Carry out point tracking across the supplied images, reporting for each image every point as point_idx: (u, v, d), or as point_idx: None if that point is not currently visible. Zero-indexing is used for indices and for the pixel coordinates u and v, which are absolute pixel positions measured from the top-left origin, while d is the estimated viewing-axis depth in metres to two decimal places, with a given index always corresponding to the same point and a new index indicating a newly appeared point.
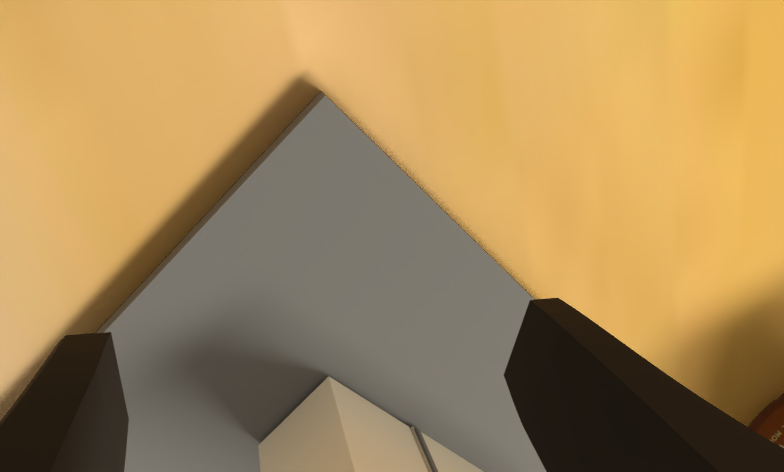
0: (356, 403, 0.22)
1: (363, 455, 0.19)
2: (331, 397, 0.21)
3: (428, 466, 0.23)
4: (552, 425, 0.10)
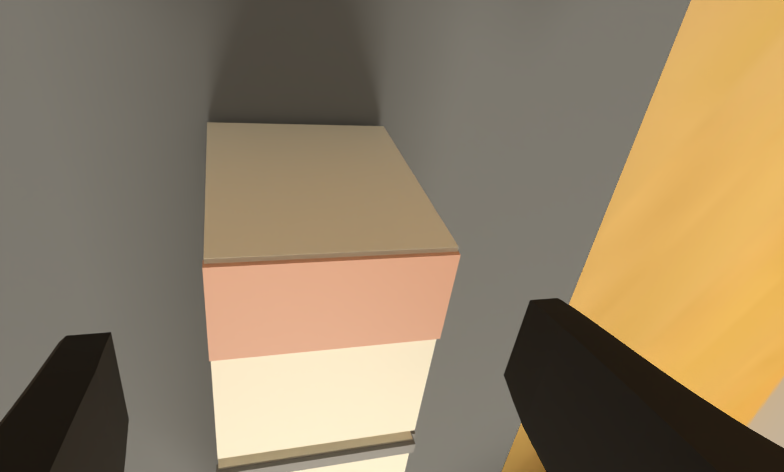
0: None
1: None
2: (389, 144, 0.13)
3: None
4: (552, 425, 0.10)
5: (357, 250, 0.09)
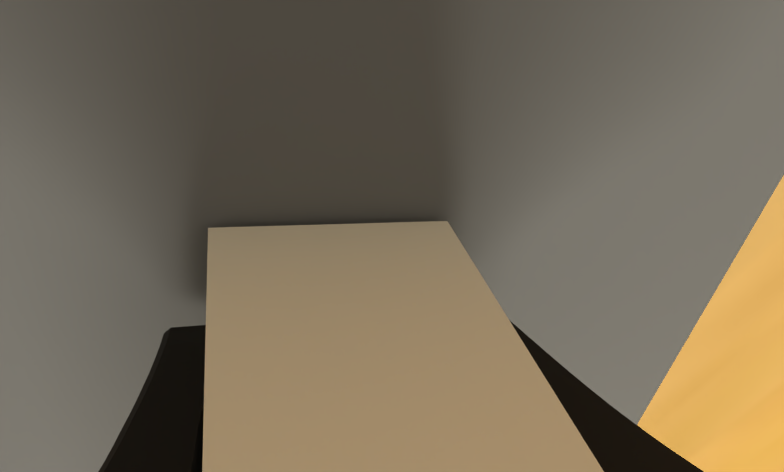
0: None
1: None
2: (461, 256, 0.09)
3: None
4: None
5: None
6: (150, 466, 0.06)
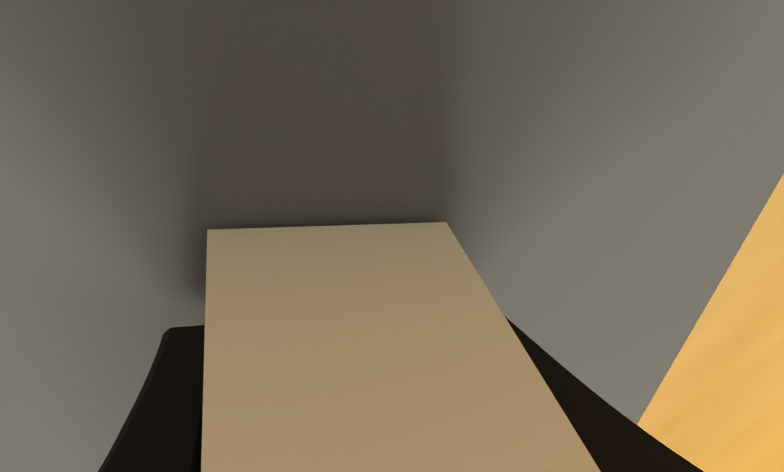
0: None
1: None
2: (460, 257, 0.09)
3: None
4: None
5: None
6: (150, 466, 0.06)
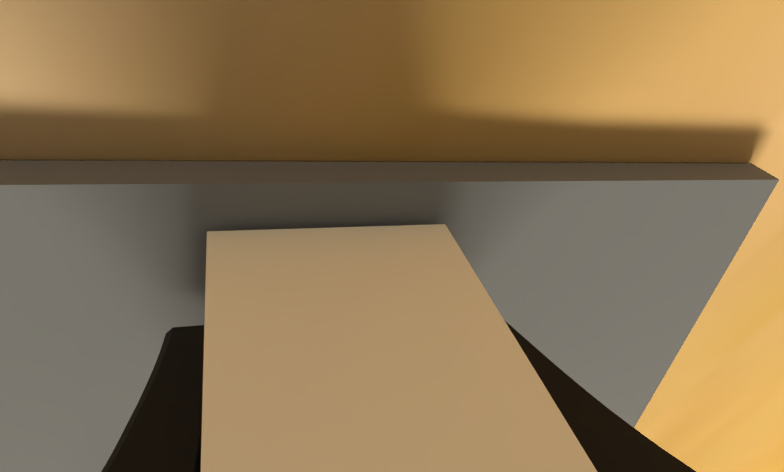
0: None
1: None
2: (459, 260, 0.09)
3: None
4: None
5: None
6: (153, 466, 0.06)
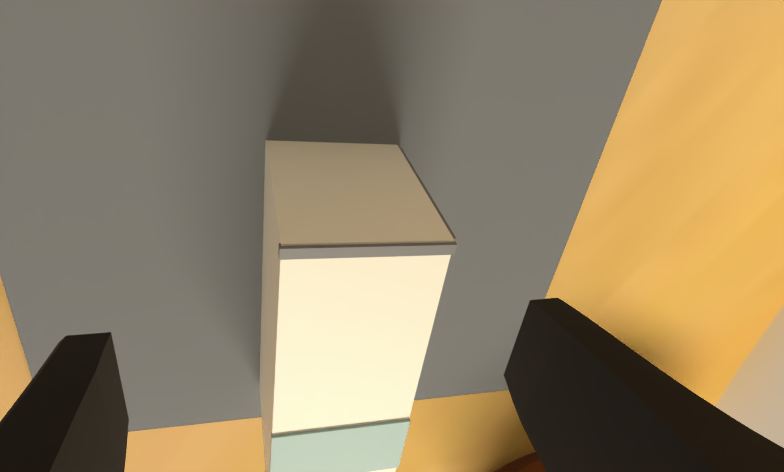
0: None
1: None
2: None
3: (416, 178, 0.16)
4: (552, 425, 0.10)
5: None
6: None
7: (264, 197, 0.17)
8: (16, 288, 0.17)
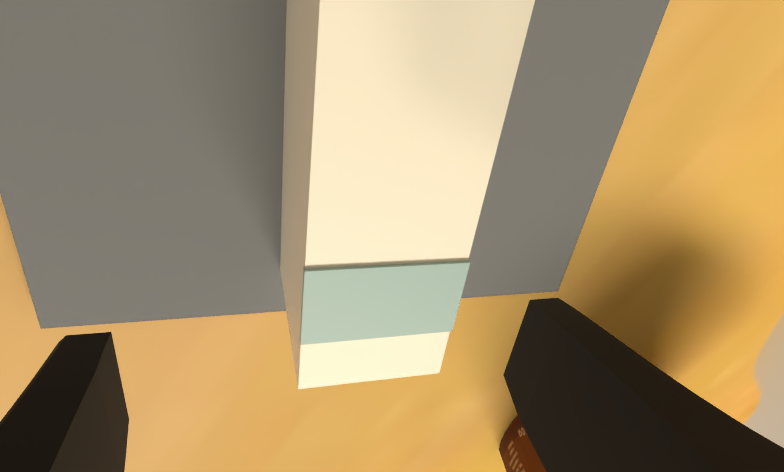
0: None
1: None
2: None
3: None
4: (552, 425, 0.10)
5: None
6: None
7: (287, 0, 0.14)
8: None
